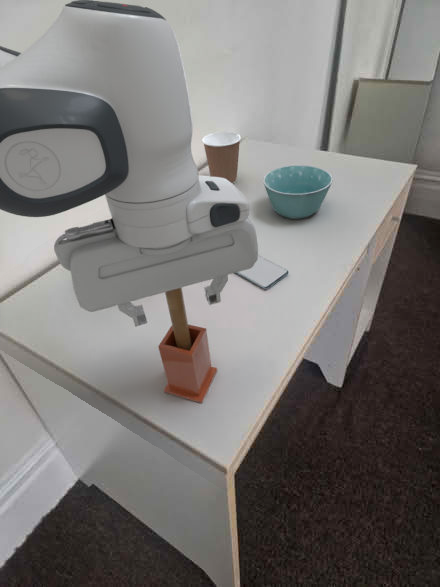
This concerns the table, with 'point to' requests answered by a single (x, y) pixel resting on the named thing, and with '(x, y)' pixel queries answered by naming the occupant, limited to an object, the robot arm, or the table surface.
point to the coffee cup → (222, 154)
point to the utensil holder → (187, 365)
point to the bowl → (297, 189)
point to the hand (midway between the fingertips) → (177, 311)
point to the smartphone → (264, 273)
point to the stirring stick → (179, 318)
